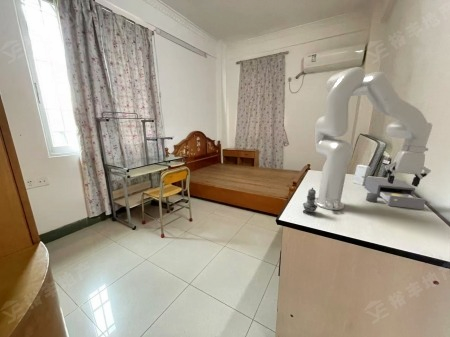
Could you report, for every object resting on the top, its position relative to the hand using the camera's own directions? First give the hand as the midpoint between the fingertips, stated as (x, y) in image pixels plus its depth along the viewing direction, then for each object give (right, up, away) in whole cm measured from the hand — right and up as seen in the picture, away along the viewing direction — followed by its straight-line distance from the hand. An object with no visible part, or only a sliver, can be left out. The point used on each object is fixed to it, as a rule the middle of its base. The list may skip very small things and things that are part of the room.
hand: (402, 184), depth 90 cm
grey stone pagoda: (-49, -12, -7) cm, 51 cm away
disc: (+1, -8, +2) cm, 8 cm away
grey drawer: (+2, -9, +5) cm, 10 cm away
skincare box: (+2, -2, +31) cm, 31 cm away
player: (+5, -6, +15) cm, 17 cm away
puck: (-11, -9, +5) cm, 15 cm away
